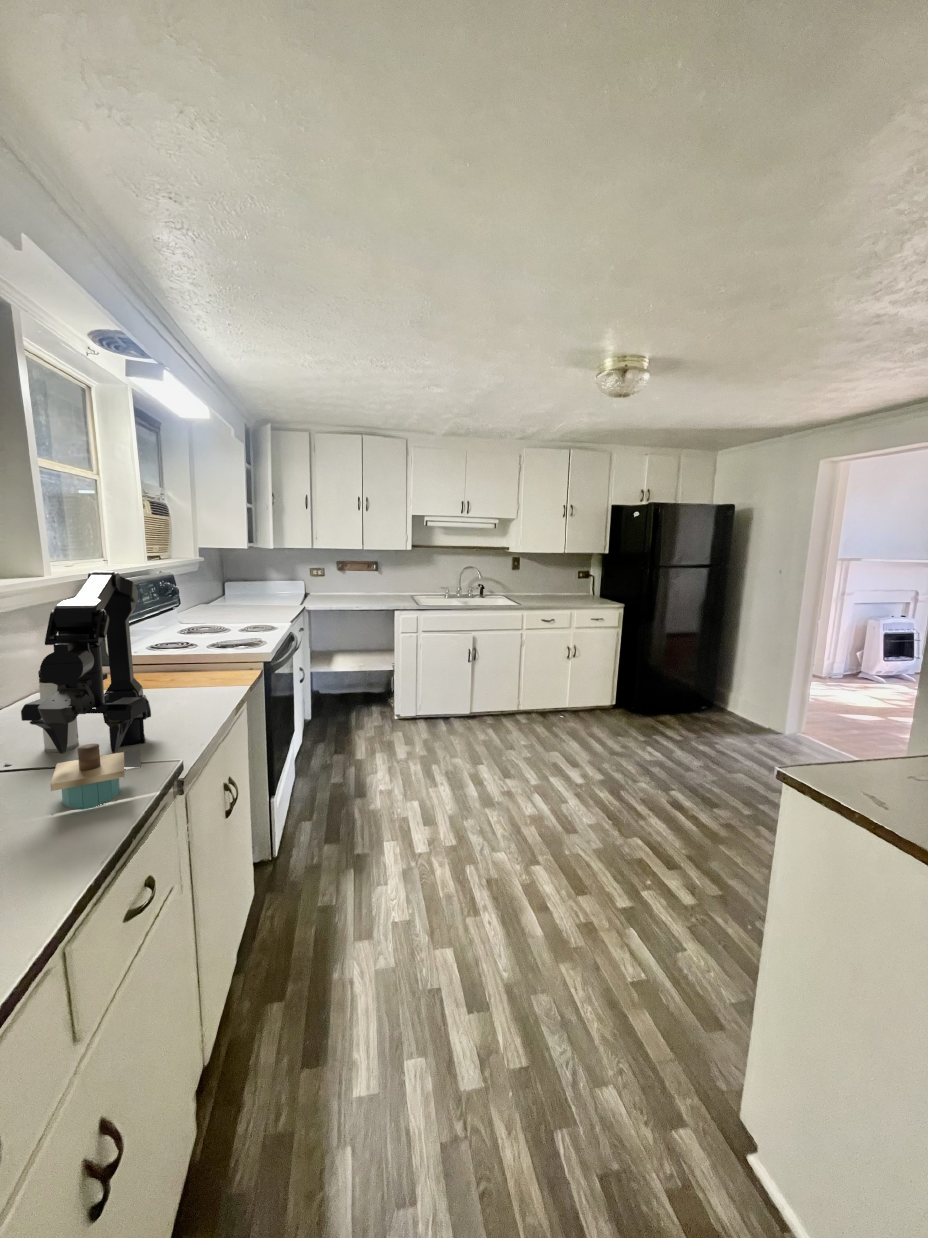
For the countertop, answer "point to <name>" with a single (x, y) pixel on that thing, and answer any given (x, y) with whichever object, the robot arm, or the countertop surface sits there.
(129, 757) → the mat
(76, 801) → the bowl
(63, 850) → the countertop surface
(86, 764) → the lid
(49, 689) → the travel mug
